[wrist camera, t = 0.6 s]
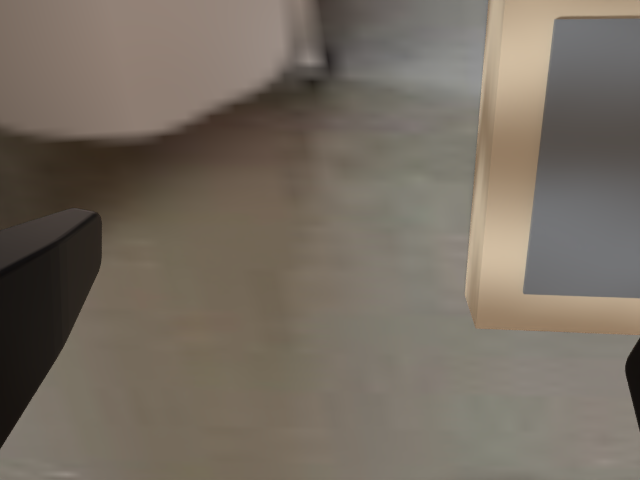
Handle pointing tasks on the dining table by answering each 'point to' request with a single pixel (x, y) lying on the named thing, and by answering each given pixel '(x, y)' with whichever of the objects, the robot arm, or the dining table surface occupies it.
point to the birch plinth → (558, 169)
